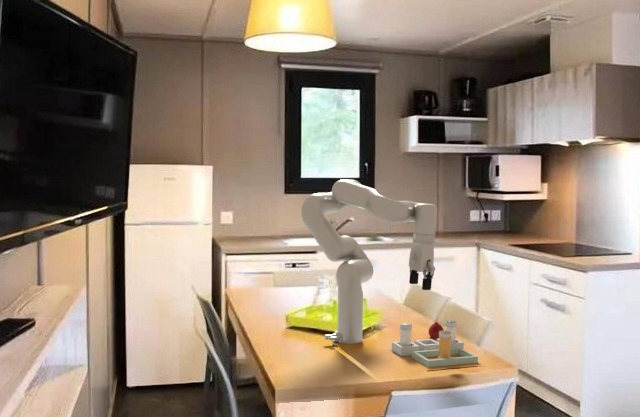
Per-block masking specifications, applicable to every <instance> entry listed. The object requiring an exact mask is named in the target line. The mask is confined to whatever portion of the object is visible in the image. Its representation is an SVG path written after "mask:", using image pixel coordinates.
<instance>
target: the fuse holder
mask: <svg viewBox="0 0 640 417" xmlns="http://www.w3.org/2000/svg"><path fill="white" fill-rule="evenodd" d="M464 347H465V343H464V342H463V341H462V340H460V339H458V338H456V342H452V343H451V348H462V349H464ZM438 349H439V339H433V338H430V339H429V338H428V339H415V340H414V342H412V341H411V346H401V345H400V340H399V341H392V342H391V349H389V351H390V352H392V353H394V355H396V356H398V357H400V358H404V357H412V352H413V351H426V350H438ZM464 350H465V349H464Z"/></svg>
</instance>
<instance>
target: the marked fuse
mask: <svg viewBox="0 0 640 417" xmlns="http://www.w3.org/2000/svg"><path fill="white" fill-rule="evenodd" d="M451 356H452V355H451V332H450V331H445V330H444V331H439V356H437V359H445V358H452V357H451Z"/></svg>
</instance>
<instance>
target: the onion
mask: <svg viewBox="0 0 640 417" xmlns="http://www.w3.org/2000/svg"><path fill="white" fill-rule="evenodd" d="M439 331H445V329H444V328H443V326H442V325H441V324H440V323H439V322H438V321H437V320H434V323H433V324H431V325H430V326H429V328H428V336H429V337H430V339H433V340H437V339H439Z"/></svg>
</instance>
